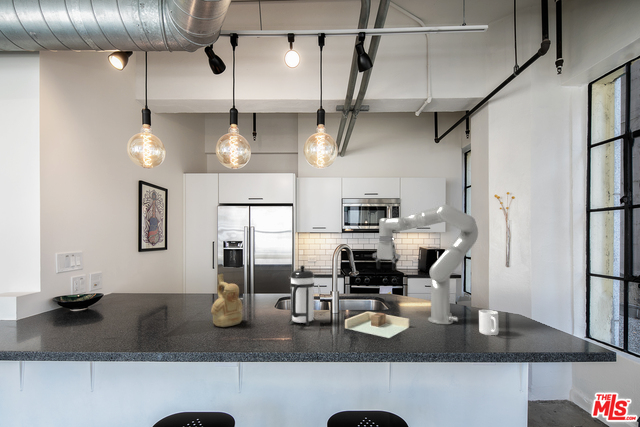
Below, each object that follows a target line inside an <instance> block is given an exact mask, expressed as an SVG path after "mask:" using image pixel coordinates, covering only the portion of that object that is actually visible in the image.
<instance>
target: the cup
mask: <svg viewBox="0 0 640 427" xmlns="http://www.w3.org/2000/svg"><path fill="white" fill-rule="evenodd" d="M478 329H479V333H480V334H483V335H485V336H491V335H495V336H498V335H499V312H498V311H497V310H492V309H479V310H478Z"/></svg>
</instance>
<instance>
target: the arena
mask: <svg viewBox="0 0 640 427" xmlns="http://www.w3.org/2000/svg"><path fill="white" fill-rule="evenodd" d="M376 313H377V312H374V311H365V312H362V313H359V314H356V315H354V316H352V317H349V318H346V319H344V329H347V330H353V331H355V332H360V333H363V334H369V335H370V334H371V335H373V336H378V337H383V338H387V339H390V338H392V337H393V336H395V335H397V334H399V333H401V332H403V331H405V330H407V329H408V328H410V318H407V317H401V316H395V315H391V314H389V315H388V314H385V315H386V324H384V325H381V326H379V327H375V326H371V315H374V314H376Z"/></svg>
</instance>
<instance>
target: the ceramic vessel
mask: <svg viewBox="0 0 640 427" xmlns="http://www.w3.org/2000/svg"><path fill="white" fill-rule="evenodd" d="M217 279H218V281H217V282H218V284H217V290H216V291H217V297H218V298H217V299H216V300H214V303H213V304H212V305H211V311H210V313H211V314H212V322H213V325H214V326H216V327H221V328H227V327H231V326H236V325H240V323H241V322H242V320H243V313H242V311H243V308H244V307H243V303H242V300H241V299H240V298H239V296H240V288H239V286H238V285H237V284H235V283H227V282H225V279H224V274H223V273H220V274H217Z"/></svg>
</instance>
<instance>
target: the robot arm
mask: <svg viewBox="0 0 640 427" xmlns="http://www.w3.org/2000/svg"><path fill="white" fill-rule="evenodd" d="M378 222H379V224H378V226H379V229H378V231H379V236H378V238H379V241H378V243H377V249H376V252H374V253H372V258H373V259H374V261H375V263H376V269H377V270H380V269H381V260H388V261H389V260H390V261H391V262H392V263H391V271H396V269H397V263H398V262H399V261H400V259H401V255H400V254H398V253H397V251H396V244H395V242H394V241H395V239H396V238H395V237H393V236H394V234H393V233H394V232H393V231H395V232H396V231H397V232H403V231H407V230H412V229H416V228H421V227H422V228H424V227H427V226H431V225H436V224H441V223H447V224H449V225H451V226H453V227H455V228H456V229H459V230H460V233H459V235H458V237H457V238H456V239H455V240H454V241H453V242H452V244H451V245H450V246H449V247H448V248H446V249H445V250H444V252H443V253H442V254H441V255H440V256H439V258H437V260H436V261H435V262H434V263H433V264H432V265H431V267H430V268H429V277H430V316H429V317H428V318H427V321H428V322H430V323H432V324H436V325H451V324H453V323H454V322H458V321H459V317H457V316H455V315H454V316H453V315H452V312H451V311H450V310H451V306H450V305H451V304H450V302H451V300H450V299H451V297H450V295H451V294H450V293H451V292H450V291H451V289H450V284H451V283H450V281H451V279H450V278H451V276H452V274H453V273H454V272H455V270H457V269H458V267H459V266H460V265H461V263H462V262H463V260H464V258H465V256H466V255H467V254H468V253H469V251H470V250H471V249H472V248H473V247H474V246H475V244H476V242H477V241H478V236H479V229H478V225H477V222H476V219H475V218H474V217H473V216H472V215H470V214H468V213H466V212H463V211H461V210H459V209H457V208H456V207H453V205H449V204H442V205H441V206H437V207H435V208H430V209H425V210H421V211H420V212H418V213H416V214H412V215H409V216H405V217H393V218H390V217H384V218H383V217H382V218H380V219H379V220H378Z"/></svg>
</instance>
